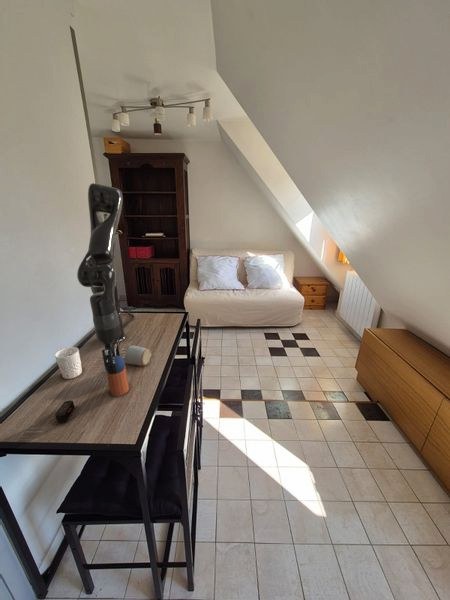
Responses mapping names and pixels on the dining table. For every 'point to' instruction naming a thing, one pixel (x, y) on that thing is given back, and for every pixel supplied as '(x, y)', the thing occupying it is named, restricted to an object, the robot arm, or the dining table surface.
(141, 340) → the dining table surface
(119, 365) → the ball
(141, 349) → the ceramic mug
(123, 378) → the cup
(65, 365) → the white cup
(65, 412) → the wireless earbuds
